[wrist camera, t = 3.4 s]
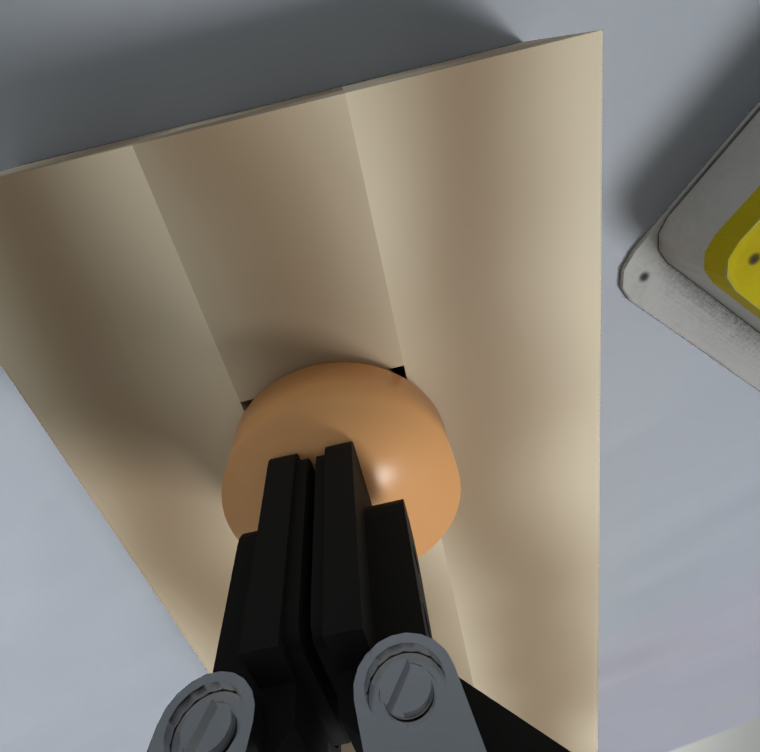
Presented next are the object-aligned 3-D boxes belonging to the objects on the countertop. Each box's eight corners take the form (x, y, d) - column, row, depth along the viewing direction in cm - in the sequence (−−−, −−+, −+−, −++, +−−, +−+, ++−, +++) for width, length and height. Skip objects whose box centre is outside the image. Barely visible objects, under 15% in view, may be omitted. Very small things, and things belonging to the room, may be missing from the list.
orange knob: (405, 273, 14) (442, 377, 9) (433, 416, 16) (473, 556, 12) (232, 312, 14) (182, 434, 9) (285, 449, 17) (266, 599, 12)
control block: (523, 41, 12) (602, 29, 8) (562, 698, 26) (597, 794, 22) (16, 166, 12) (-108, 204, 9) (326, 744, 26) (325, 845, 23)
